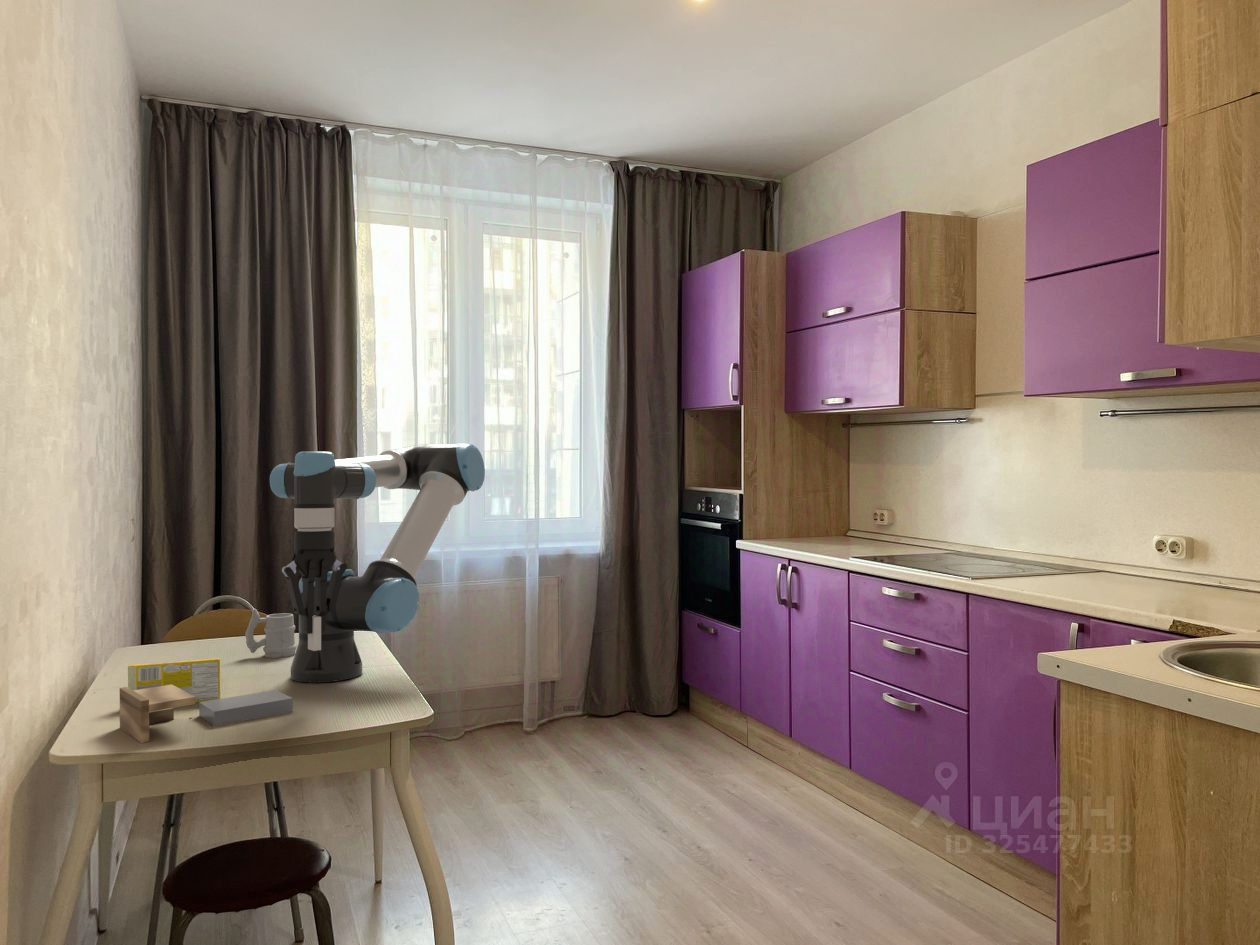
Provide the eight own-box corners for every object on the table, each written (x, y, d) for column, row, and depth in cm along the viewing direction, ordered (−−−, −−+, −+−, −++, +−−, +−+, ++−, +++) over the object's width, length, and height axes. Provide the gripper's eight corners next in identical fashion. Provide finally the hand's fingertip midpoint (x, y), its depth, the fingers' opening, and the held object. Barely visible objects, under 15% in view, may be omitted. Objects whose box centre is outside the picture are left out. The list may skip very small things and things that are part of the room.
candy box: (220, 698, 181) (220, 657, 181) (220, 701, 179) (219, 659, 179) (129, 706, 175) (129, 663, 175) (127, 709, 173) (127, 666, 173)
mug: (299, 655, 223) (298, 607, 223) (247, 661, 217) (247, 611, 217) (293, 650, 229) (293, 603, 229) (243, 655, 223) (243, 607, 223)
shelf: (172, 718, 166) (171, 680, 166) (195, 732, 156) (195, 692, 156) (119, 727, 160) (119, 688, 160) (141, 743, 151) (141, 701, 151)
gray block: (275, 705, 177) (275, 689, 177) (292, 714, 170) (292, 698, 170) (199, 718, 167) (199, 702, 167) (214, 728, 161) (214, 711, 161)
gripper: (337, 527, 185) (337, 643, 185) (273, 530, 176) (273, 651, 176) (354, 529, 180) (354, 647, 179) (289, 531, 171) (289, 656, 170)
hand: (314, 649), depth 178 cm, fingers closed
